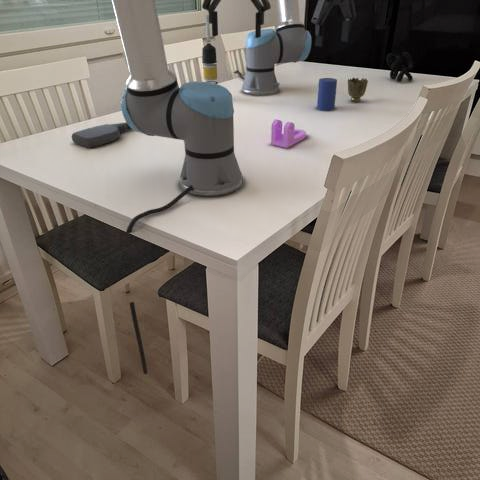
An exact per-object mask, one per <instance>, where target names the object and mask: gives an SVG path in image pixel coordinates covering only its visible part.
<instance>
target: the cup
mask: <svg viewBox="0 0 480 480" xmlns="http://www.w3.org/2000/svg"><path fill="white" fill-rule="evenodd" d="M368 82H369V79H367V78H365V77H362V78H361V79H359V77H356V78H355V77H352V78H347V93H348V96H349V97H350V101H351V102H354V103H359V102H360V101H361V98H363V96H365V94H366V92H367V91H366V90H367V87H368Z"/></svg>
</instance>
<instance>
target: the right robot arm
mask: <svg viewBox="0 0 480 480" xmlns="http://www.w3.org/2000/svg"><path fill="white" fill-rule="evenodd" d="M335 6H339V8H340V11H341V13H342V16H343V18H344V20H342V28H341V37H340V41H341V42H344V43H349V40H350V33H351V32H350V31H351V26H352V22H354V21H355V19H356V17H357V11H356V7H355V6H356V5H355V0H318V1H317V3H316V7H315V9H314V12H313V15H312V18H311V21H310V22H311V23H312V24H313V25H315V32H314V33H315V41H314V42H315V43H314V46H315V47H319V48H323V47H324V40H325V39H324V36H325V24H324V23H325V21H326V20H327V17H328V15H330V12H331V10H332V8H334V7H335ZM276 9H277V18H278V25H277V27H276V28H275V29H274V28H261V37H259V38H255V30H254V31H251V32H249V33H248V34H247V35H246V38H245V66H246V67H245V71H246V72H245V75H244V76H242V73H241V72H240V71H239V70H238V69H236V70H235V71H234V74H237V73H238V74H239V78H240V79H242V80H243V82H242V86H241V92H242V93H243V94H246V95H250V96H270V95H274V94H277V93H278V92H279V87H280V82H278V80H277V76H276V73H275V65H276V64H278V65H279V64H288V63H293V64H294V63H298V62H299V63H300V62H304V61H306V59H307V58H308V57H309V54H310V52H311V49H312V35H311V32H310V31H309V30H307V29H306V28H305V24H304V23H303V22H302V21H301V16H300V5H299V0H276Z"/></svg>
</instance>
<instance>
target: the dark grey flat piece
mask: <svg viewBox="0 0 480 480" xmlns="http://www.w3.org/2000/svg"><path fill="white" fill-rule="evenodd" d="M128 130H133V129H132V128H131V127H130V126H129V125H128V124H127V122H126V121H125V122H118V123H109V124H108V123H106V124H100V125H96V126H91V127H87V128H85V129H81V130H78V131H75V132H73V133H72V134H71V140H72V142H73V143H74V144H77V145H80V146H81V147H84V148H87V149H88V148H90V149H92V148H96V147H99V146H103V145H106V144H109V143H112V142H115V141H117V140H119V138H120V135H121V133H122V132H126V131H128Z"/></svg>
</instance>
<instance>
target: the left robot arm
mask: <svg viewBox="0 0 480 480" xmlns="http://www.w3.org/2000/svg"><path fill="white" fill-rule="evenodd" d="M221 1H222V0H203V3H202V5H201V9H203V10H206V11H207V12H208V15H209V25H210V24H211V36H212V37H218V36H219V23H218V21H219V20H218V19H219V18H218V17H219V16H218V11H217V10H216V9H217V7H218V6H219V4H220V3H221ZM111 2H112V6H113V11H114V14H115V18H116V22H117V26H118V31H119V34H120V39H121V43H122V46H123V50H124V55H125V58H126V62H127V66H128V67H127V68H128V71H129V77H128V79H127V80H126V81H125V86H126V87H125V88H124V90H123V92H122V94H121V98H122V100H121V101H120V107H121V114H122V116H123V118H124V121H125V123H126V122H127V124H128V125H129V126H130V127H131V128H132V129H131V130H133V131H134V132H136V133H139V134H143V135H146V136H150V137H161V138H167V139H172V140H173V139H174V140H178V141H179V140H180V141H183V143H184V154H185V155H184V158H183V164H182V168H181V171H180V177H179V178H180V179H179V183H180V184H179V185H180V188H181V189H182V192H180V193H179V194H178V195H177V196H176V197H174V198H173V199H172V200H171V201H170V202H168V203H167V204H165V205H163V206H161V207H157V208H152V209H148V210H146V211H144V212H141V213H140V214H137V215H135V216H134V217H133V218H132V219H131V220H130V221H129V223H128V225H127V228H126V231H125V233H126V234H127V235H128V234H131V233H132V230H133V229H134V226H135V225H136V224H137V222H138V221H139V220H141V219H143V218H145V217H148V216H150V215H153V214H154V215H155V214H158V213H162V212H165V211H167V210H168V209H171V207H173V206H174V205H175V204H177V203H178V202H179V201H180V200H181V199H183V198H184V197H185V196H186V195H187V194H190V195H194V196H199V197H221V196H224V195H229V194H232V193H234V192H235V191H237V190H239V189H240V188H241V187H242V185H243V174H242V171H241V168H240V165H239V163H238V160H237V157H236V154H235V132H234V131H235V129H234V127H235V126H234V122H235V121H234V114H235V108H234V102H233V96H232V93H231V91H230V90H229V89H228V88H226V87H225V86H223V85H221V84H219V83H217V84H215V82H207V81H188V82H185V83H183V84H182V85H181V86H180V87H179V84H178V78H177V74H176V73H175V72H173V71H172V70H170V69H169V66H168V62H167V61H168V60H167V56H166V51H165V50H166V49H165V46H164V41H163V40H164V39H163V36H162V30H161V25H160V20H159V15H158V9H157V3H156V0H111ZM250 2H251V3H252V4H253V6H254V7H255V9H256V10H257V12H255V27H254V28H255V30H254V31H255V38H259V37H261V30H262V26H264V25H265V12H266V11H269V10H271V8H272V6H271V4H270V1H269V0H250ZM129 308H130V313H131V318H132V324H133V328H134V332H135V333H134V334H135V337H136V342H137V346H138V351H139V356H140V362H141V367H142V372H143V374H144V375H147V374H148V367H147V362H146V355H145V350H144V346H143V341H142V336H141V331H140V326H139V322H138V317H137V312H136V305H135V301H131V302H129Z"/></svg>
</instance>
